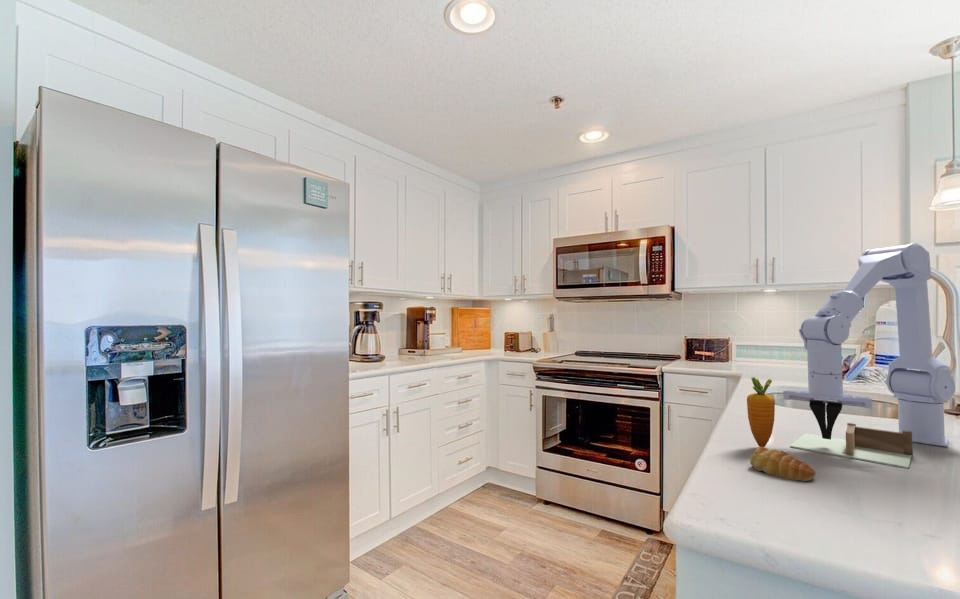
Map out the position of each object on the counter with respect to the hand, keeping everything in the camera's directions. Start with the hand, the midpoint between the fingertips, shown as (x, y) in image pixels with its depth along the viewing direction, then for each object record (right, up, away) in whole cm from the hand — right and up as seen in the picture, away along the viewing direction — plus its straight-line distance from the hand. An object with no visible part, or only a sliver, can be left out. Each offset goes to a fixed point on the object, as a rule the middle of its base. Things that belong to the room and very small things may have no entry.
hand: (826, 438), depth 91 cm
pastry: (-19, -2, -13) cm, 23 cm away
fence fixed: (+10, -2, -2) cm, 10 cm away
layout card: (+4, -2, -1) cm, 5 cm away
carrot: (-13, -3, +1) cm, 13 cm away
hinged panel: (+3, -2, -2) cm, 4 cm away
